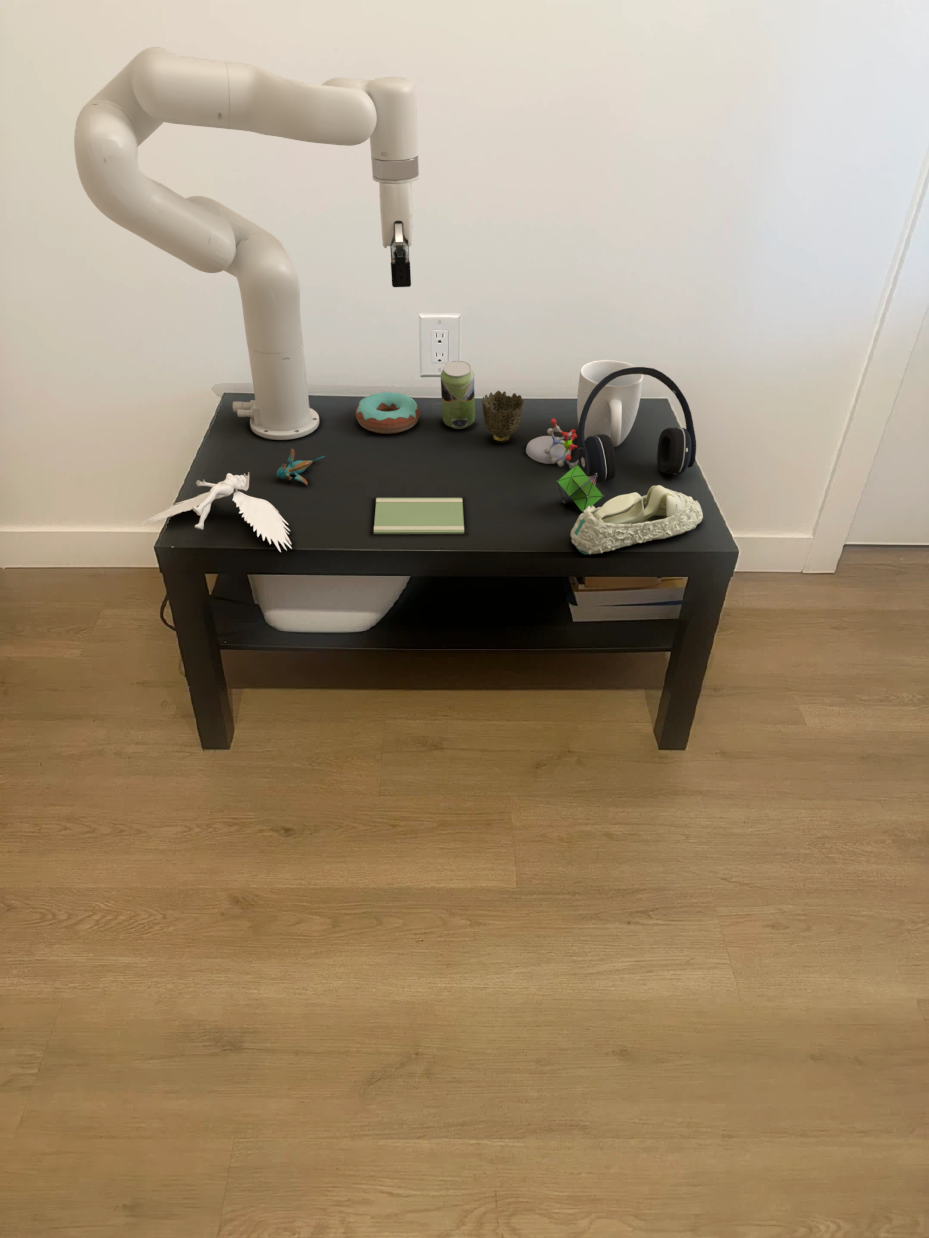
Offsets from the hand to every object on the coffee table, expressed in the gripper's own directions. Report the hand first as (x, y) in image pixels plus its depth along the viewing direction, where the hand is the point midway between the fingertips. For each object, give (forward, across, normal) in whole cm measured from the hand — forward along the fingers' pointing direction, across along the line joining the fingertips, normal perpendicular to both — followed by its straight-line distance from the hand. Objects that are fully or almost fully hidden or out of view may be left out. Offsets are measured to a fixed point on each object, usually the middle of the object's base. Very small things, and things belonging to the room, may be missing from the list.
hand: (401, 276), depth 150 cm
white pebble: (+24, +18, +25) cm, 38 cm away
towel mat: (+25, +38, +1) cm, 45 cm away
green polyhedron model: (+22, +40, +27) cm, 53 cm away
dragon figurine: (+25, +24, -19) cm, 39 cm away
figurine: (+15, +45, -31) cm, 57 cm away
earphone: (+26, +29, +38) cm, 54 cm away
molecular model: (+20, +18, +26) cm, 37 cm away
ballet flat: (+26, +44, +35) cm, 62 cm away
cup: (+26, +13, +17) cm, 33 cm away
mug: (+26, +15, +35) cm, 46 cm away
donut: (+25, +5, -4) cm, 26 cm away
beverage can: (+26, +7, +9) cm, 28 cm away
